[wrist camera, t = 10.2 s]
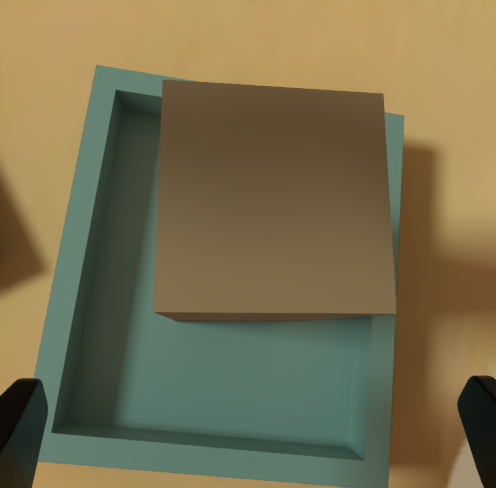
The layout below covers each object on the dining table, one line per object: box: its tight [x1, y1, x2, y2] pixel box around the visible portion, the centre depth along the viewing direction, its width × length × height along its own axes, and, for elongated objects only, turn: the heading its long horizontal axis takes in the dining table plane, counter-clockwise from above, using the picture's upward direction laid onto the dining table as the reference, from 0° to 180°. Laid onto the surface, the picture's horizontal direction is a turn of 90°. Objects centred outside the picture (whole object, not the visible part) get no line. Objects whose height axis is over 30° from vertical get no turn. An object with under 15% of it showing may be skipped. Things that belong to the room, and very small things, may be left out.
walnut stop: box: [153, 80, 397, 323], centre depth 14 cm, size 4×4×12 cm
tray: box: [34, 65, 404, 488], centre depth 20 cm, size 16×14×3 cm
